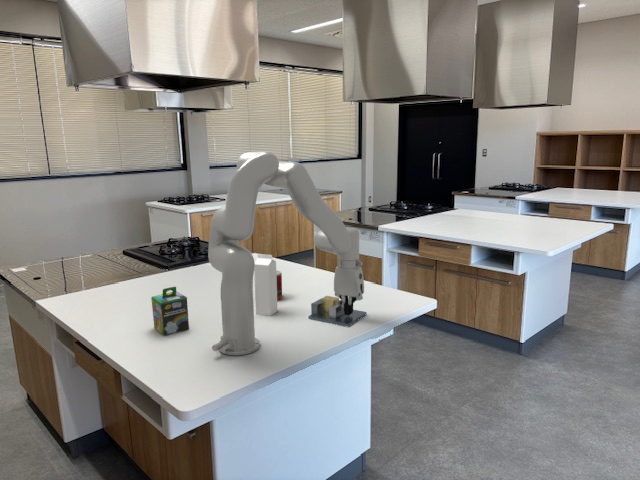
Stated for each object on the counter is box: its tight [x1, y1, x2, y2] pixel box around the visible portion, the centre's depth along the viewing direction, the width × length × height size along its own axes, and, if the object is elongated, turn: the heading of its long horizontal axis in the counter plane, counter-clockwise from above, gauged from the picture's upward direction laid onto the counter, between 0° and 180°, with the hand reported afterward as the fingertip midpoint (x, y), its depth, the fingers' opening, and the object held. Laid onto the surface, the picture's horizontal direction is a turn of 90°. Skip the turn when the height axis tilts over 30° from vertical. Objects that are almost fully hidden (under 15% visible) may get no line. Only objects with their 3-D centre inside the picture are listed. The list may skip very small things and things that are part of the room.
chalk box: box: [150, 286, 190, 337], centre depth 156 cm, size 9×9×15 cm
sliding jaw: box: [329, 299, 344, 319], centre depth 166 cm, size 10×2×5 cm, turn 149°
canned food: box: [276, 269, 283, 302], centre depth 187 cm, size 8×8×11 cm
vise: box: [308, 297, 367, 327], centre depth 167 cm, size 14×16×5 cm
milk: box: [253, 253, 278, 317], centre depth 170 cm, size 6×6×22 cm
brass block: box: [320, 295, 340, 315], centre depth 168 cm, size 4×5×6 cm
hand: (348, 313), depth 165 cm, fingers closed
